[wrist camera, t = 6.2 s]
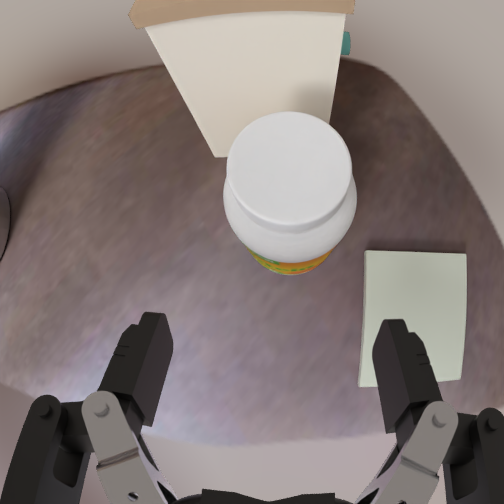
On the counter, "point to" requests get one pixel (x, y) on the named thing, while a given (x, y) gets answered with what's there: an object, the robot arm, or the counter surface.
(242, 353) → the counter surface
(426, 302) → the plate
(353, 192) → the supplement bottle
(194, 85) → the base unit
